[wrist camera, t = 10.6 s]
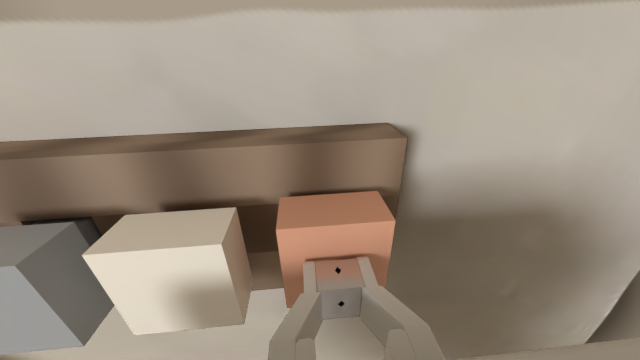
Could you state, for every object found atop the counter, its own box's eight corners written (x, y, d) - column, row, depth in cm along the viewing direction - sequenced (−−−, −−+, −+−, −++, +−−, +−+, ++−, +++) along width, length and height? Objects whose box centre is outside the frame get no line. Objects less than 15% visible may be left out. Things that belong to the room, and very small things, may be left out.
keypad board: (387, 122, 14) (407, 137, 12) (374, 247, 19) (386, 278, 16) (-6, 142, 13) (-83, 164, 10) (83, 271, 18) (45, 309, 15)
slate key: (121, 186, 13) (14, 265, 8) (152, 253, 16) (84, 346, 11) (25, 192, 13) (-146, 278, 8) (72, 259, 15) (-38, 358, 10)
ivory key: (248, 176, 14) (221, 244, 9) (260, 241, 16) (244, 324, 11) (160, 182, 14) (81, 255, 9) (185, 247, 16) (134, 335, 11)
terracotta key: (362, 165, 15) (395, 220, 10) (358, 228, 17) (384, 298, 12) (282, 170, 15) (275, 229, 10) (289, 233, 17) (286, 308, 12)
